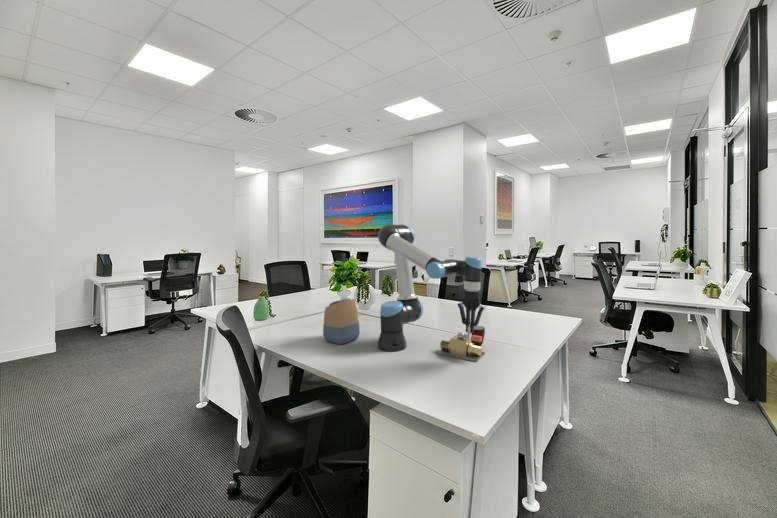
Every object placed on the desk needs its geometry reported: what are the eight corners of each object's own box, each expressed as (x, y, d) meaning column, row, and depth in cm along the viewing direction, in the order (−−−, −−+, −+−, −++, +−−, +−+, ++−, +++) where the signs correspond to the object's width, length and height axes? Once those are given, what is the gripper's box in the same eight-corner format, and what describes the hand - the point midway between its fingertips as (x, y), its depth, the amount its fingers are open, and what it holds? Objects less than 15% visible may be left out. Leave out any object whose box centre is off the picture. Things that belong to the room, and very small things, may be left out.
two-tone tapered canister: (341, 334, 204) (340, 295, 202) (362, 338, 194) (361, 298, 192) (320, 341, 190) (319, 300, 188) (342, 346, 180) (341, 303, 179)
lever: (456, 338, 166) (456, 333, 166) (459, 336, 169) (459, 331, 169) (479, 343, 158) (479, 337, 158) (482, 341, 161) (482, 336, 161)
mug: (482, 351, 171) (482, 331, 170) (466, 349, 174) (466, 330, 173) (485, 344, 180) (485, 326, 180) (470, 343, 184) (470, 324, 183)
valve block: (437, 354, 168) (437, 338, 167) (446, 347, 178) (446, 332, 177) (476, 362, 157) (476, 345, 156) (484, 354, 167) (484, 338, 166)
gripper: (456, 289, 159) (453, 338, 161) (482, 292, 152) (479, 344, 154) (462, 287, 165) (459, 335, 167) (487, 290, 159) (484, 340, 161)
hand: (469, 339), depth 161 cm, fingers closed
